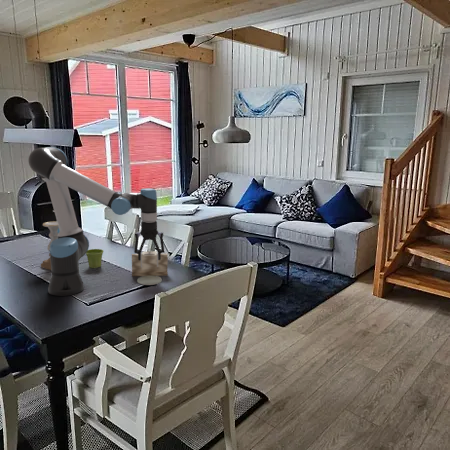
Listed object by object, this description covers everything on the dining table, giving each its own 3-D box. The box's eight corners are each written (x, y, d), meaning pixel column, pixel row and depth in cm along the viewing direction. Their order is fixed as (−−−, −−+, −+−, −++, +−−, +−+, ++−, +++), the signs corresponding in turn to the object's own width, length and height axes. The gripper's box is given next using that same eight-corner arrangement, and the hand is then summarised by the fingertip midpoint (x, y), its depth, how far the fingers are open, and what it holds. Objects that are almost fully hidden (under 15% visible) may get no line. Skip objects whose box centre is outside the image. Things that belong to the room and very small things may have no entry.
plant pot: (101, 269, 211) (100, 254, 210) (83, 269, 211) (82, 253, 209) (106, 264, 221) (105, 249, 219) (89, 263, 220) (88, 248, 219)
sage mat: (152, 286, 190) (152, 285, 190) (132, 282, 195) (132, 281, 195) (166, 279, 201) (166, 278, 201) (146, 275, 205) (146, 274, 205)
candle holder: (58, 262, 221) (55, 220, 216) (71, 265, 216) (68, 222, 211) (40, 267, 212) (37, 223, 207) (53, 271, 207) (50, 226, 202)
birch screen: (167, 272, 210) (167, 252, 207) (167, 275, 206) (167, 255, 204) (132, 273, 207) (132, 253, 205) (131, 276, 203) (131, 255, 201)
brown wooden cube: (156, 264, 200) (156, 250, 198) (156, 269, 193) (156, 254, 192) (142, 264, 199) (142, 251, 197) (142, 269, 192) (141, 255, 191)
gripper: (169, 219, 196) (169, 263, 201) (128, 219, 193) (129, 264, 198) (170, 222, 189) (170, 268, 194) (127, 222, 186) (128, 269, 191)
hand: (149, 266), depth 196 cm, fingers closed on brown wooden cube, 7 cm apart
